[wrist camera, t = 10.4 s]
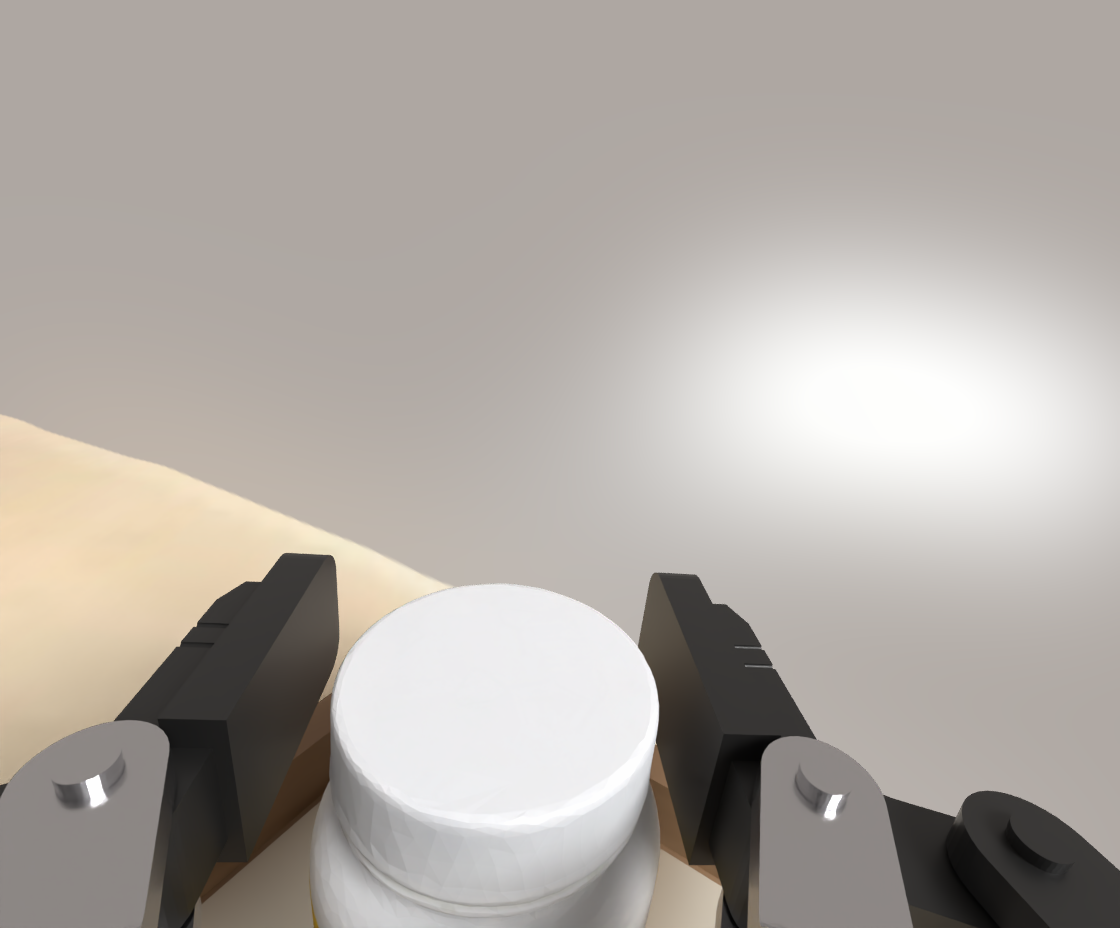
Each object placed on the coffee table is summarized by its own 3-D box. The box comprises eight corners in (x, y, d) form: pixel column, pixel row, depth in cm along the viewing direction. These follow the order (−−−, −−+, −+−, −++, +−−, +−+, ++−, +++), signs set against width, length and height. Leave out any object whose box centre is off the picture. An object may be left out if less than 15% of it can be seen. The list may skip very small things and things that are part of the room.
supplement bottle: (457, 857, 13) (472, 536, 10) (648, 992, 11) (738, 641, 8) (266, 1109, 9) (195, 705, 6) (508, 1390, 7) (582, 995, 4)
